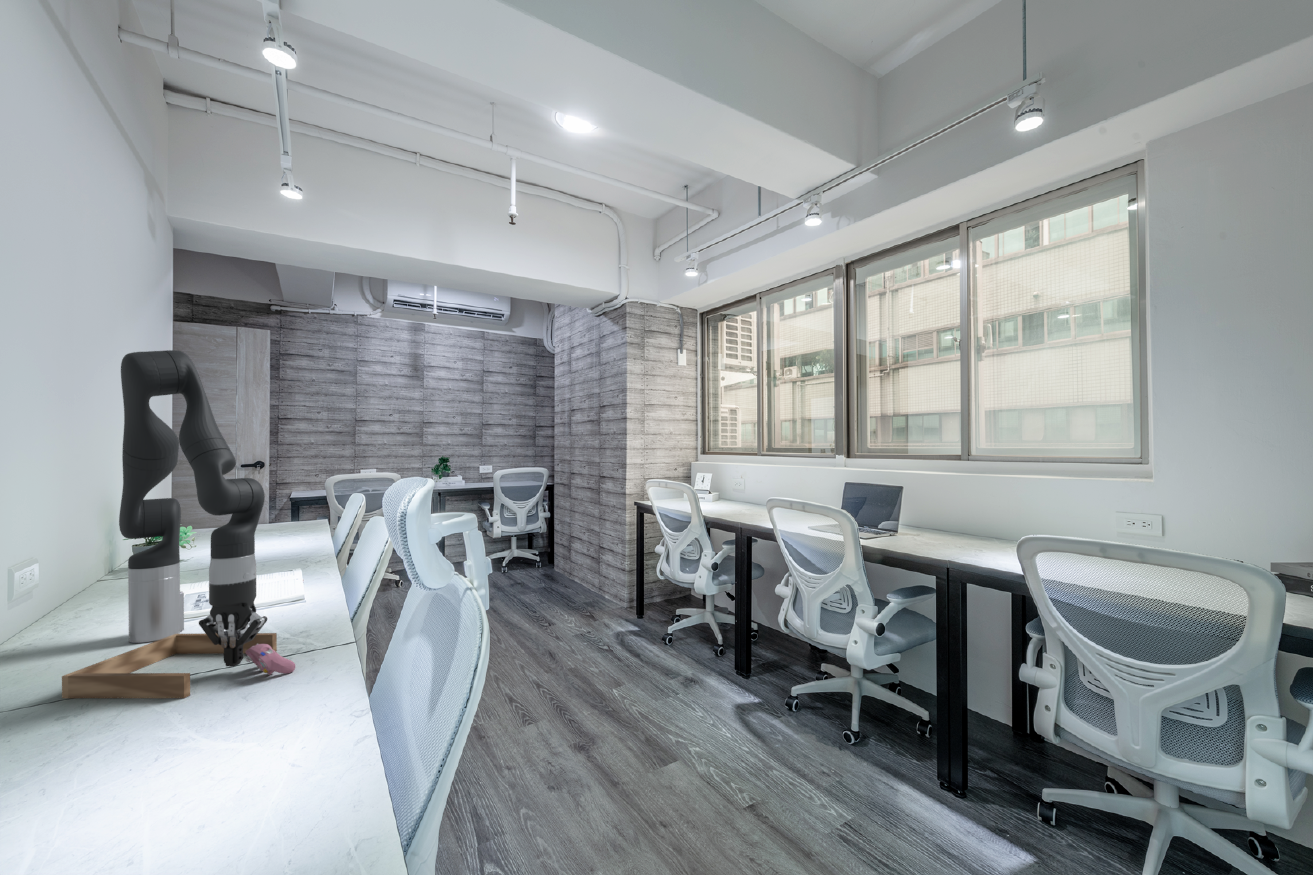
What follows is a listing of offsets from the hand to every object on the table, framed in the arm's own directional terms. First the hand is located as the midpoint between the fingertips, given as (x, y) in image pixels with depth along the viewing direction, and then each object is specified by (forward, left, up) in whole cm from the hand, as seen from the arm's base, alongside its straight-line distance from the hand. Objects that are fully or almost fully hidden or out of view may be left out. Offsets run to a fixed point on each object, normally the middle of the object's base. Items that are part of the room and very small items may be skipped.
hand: (233, 664), depth 109 cm
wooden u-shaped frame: (0, -11, -2) cm, 11 cm away
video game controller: (0, +7, -2) cm, 8 cm away
